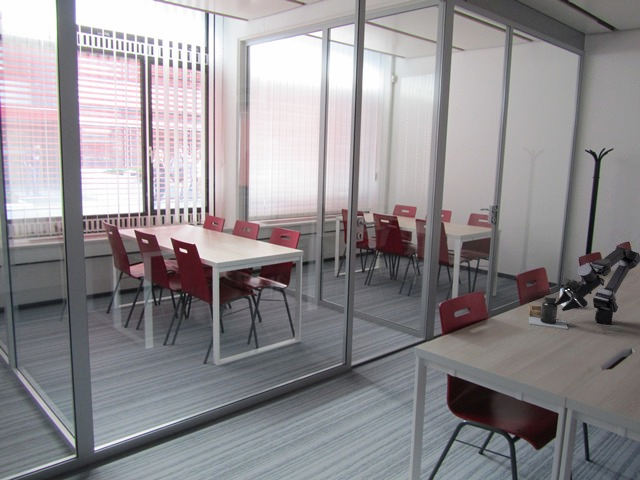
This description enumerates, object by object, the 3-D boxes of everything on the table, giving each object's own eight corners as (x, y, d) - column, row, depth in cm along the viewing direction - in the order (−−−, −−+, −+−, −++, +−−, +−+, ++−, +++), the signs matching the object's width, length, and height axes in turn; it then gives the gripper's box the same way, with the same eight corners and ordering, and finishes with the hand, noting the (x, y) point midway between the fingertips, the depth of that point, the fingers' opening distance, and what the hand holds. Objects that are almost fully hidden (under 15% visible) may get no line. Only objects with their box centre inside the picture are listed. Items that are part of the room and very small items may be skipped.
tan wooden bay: (551, 313, 252) (552, 307, 251) (553, 319, 241) (554, 313, 241) (528, 310, 255) (529, 304, 255) (529, 316, 245) (530, 310, 244)
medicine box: (573, 308, 261) (575, 292, 260) (565, 308, 261) (567, 291, 260) (566, 304, 269) (568, 288, 268) (558, 303, 269) (560, 287, 268)
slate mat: (565, 322, 238) (565, 321, 238) (567, 329, 228) (568, 328, 228) (528, 317, 243) (528, 316, 243) (529, 324, 233) (529, 323, 233)
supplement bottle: (552, 320, 239) (555, 295, 237) (558, 324, 232) (561, 299, 230) (537, 319, 239) (540, 294, 237) (542, 323, 233) (545, 298, 231)
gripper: (569, 268, 239) (542, 289, 243) (582, 277, 221) (553, 300, 225) (585, 285, 239) (557, 306, 243) (600, 296, 221) (570, 318, 225)
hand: (559, 307), depth 234 cm, fingers open, 9 cm apart
